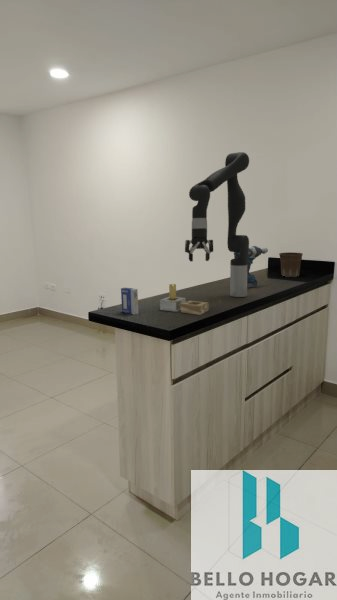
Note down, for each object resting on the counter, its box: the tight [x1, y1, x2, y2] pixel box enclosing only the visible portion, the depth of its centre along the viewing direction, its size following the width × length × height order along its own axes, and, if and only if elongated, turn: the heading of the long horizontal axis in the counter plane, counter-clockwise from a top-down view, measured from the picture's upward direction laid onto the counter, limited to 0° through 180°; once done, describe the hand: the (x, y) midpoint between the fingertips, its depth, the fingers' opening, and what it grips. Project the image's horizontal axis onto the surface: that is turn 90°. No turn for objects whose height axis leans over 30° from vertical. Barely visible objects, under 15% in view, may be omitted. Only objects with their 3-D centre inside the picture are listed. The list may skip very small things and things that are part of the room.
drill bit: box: [168, 283, 177, 300], centre depth 199 cm, size 3×3×12 cm
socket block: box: [159, 296, 187, 313], centre depth 200 cm, size 9×9×5 cm
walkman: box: [120, 287, 139, 315], centre depth 193 cm, size 8×3×12 cm, turn 56°
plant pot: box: [278, 252, 303, 278], centre depth 291 cm, size 16×16×16 cm
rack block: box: [180, 300, 210, 316], centre depth 194 cm, size 9×10×4 cm
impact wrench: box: [233, 245, 268, 289], centre depth 252 cm, size 8×23×25 cm, turn 112°
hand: (199, 261), depth 203 cm, fingers open, 8 cm apart
